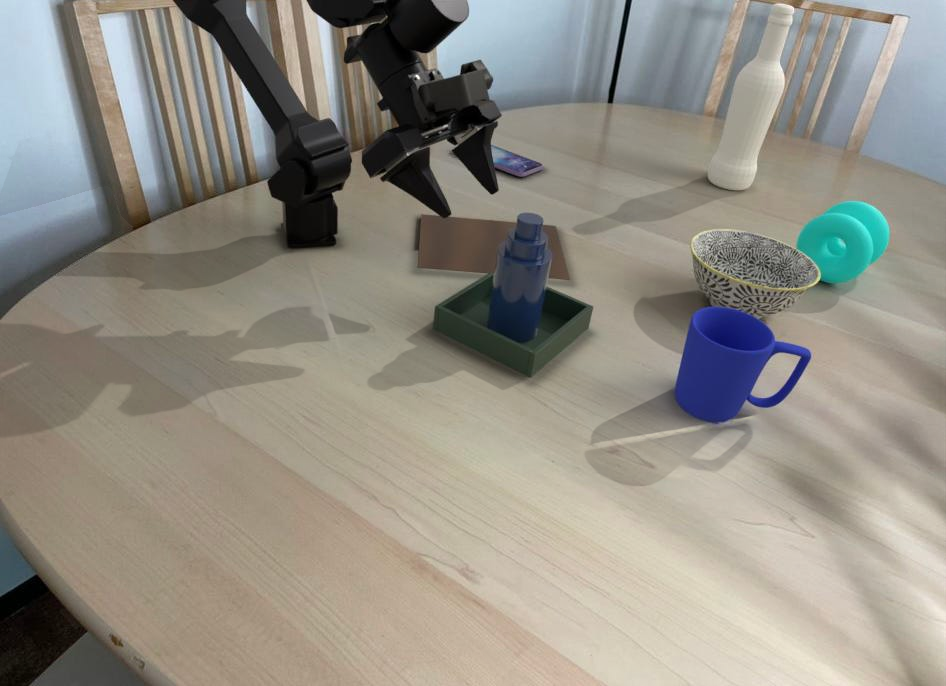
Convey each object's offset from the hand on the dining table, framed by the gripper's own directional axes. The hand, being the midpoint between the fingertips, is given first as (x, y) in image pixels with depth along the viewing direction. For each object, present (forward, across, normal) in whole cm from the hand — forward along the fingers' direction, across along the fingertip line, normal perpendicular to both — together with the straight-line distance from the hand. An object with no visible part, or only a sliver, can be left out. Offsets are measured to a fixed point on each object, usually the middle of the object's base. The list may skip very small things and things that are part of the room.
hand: (472, 204), depth 82 cm
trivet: (+6, +15, +14) cm, 21 cm away
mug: (+32, +3, -13) cm, 35 cm away
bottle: (+17, +69, +2) cm, 71 cm away
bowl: (+28, +26, -9) cm, 39 cm away
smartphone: (-7, +44, +26) cm, 52 cm away
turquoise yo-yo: (+33, +46, -14) cm, 59 cm away
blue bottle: (+14, 0, +4) cm, 15 cm away
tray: (+15, 0, +4) cm, 15 cm away
